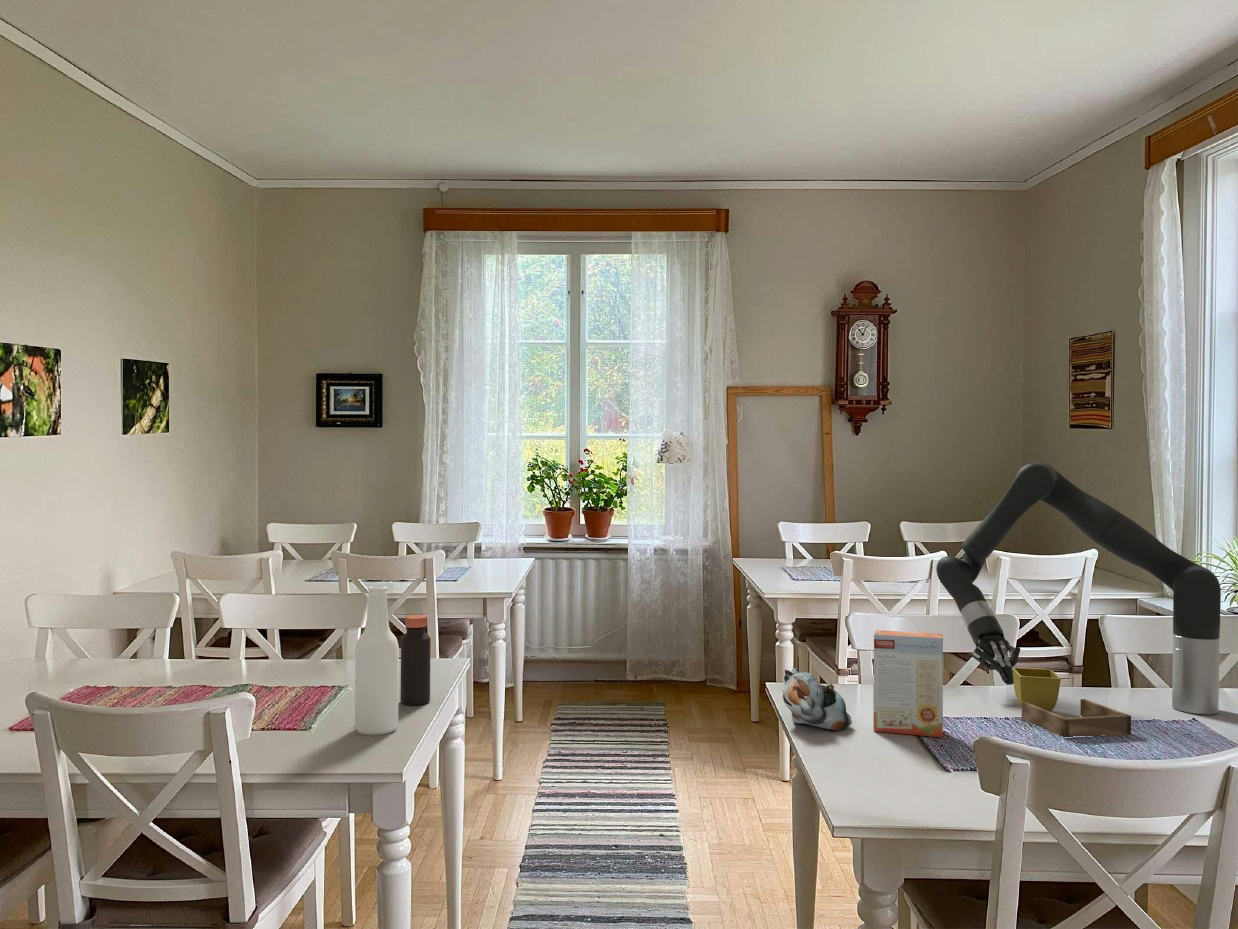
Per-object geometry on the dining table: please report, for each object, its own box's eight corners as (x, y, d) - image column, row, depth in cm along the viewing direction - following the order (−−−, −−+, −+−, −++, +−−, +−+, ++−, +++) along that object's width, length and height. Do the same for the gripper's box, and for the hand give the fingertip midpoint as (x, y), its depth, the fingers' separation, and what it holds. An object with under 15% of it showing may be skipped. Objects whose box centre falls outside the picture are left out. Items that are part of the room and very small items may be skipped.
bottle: (426, 706, 212) (427, 619, 212) (397, 706, 212) (397, 619, 212) (432, 698, 219) (433, 614, 219) (404, 698, 219) (405, 614, 219)
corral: (1021, 720, 205) (1021, 702, 205) (1084, 716, 209) (1084, 699, 209) (1064, 739, 192) (1065, 719, 192) (1131, 734, 195) (1131, 715, 195)
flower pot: (1061, 718, 208) (1061, 678, 208) (1019, 715, 209) (1020, 675, 209) (1050, 707, 216) (1051, 669, 216) (1011, 705, 218) (1011, 667, 218)
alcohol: (384, 721, 200) (385, 582, 200) (406, 730, 193) (407, 587, 193) (346, 729, 194) (348, 586, 193) (368, 738, 187) (369, 591, 187)
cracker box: (942, 731, 197) (943, 632, 196) (942, 739, 191) (943, 637, 191) (874, 724, 201) (875, 628, 201) (872, 732, 195) (873, 633, 195)
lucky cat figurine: (857, 733, 194) (834, 679, 190) (803, 753, 196) (780, 699, 192) (842, 695, 208) (820, 644, 205) (792, 713, 210) (769, 663, 206)
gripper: (964, 615, 229) (993, 675, 217) (1011, 613, 232) (1043, 673, 220) (951, 632, 235) (980, 692, 223) (998, 631, 237) (1028, 690, 225)
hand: (1011, 683), depth 221 cm, fingers closed
